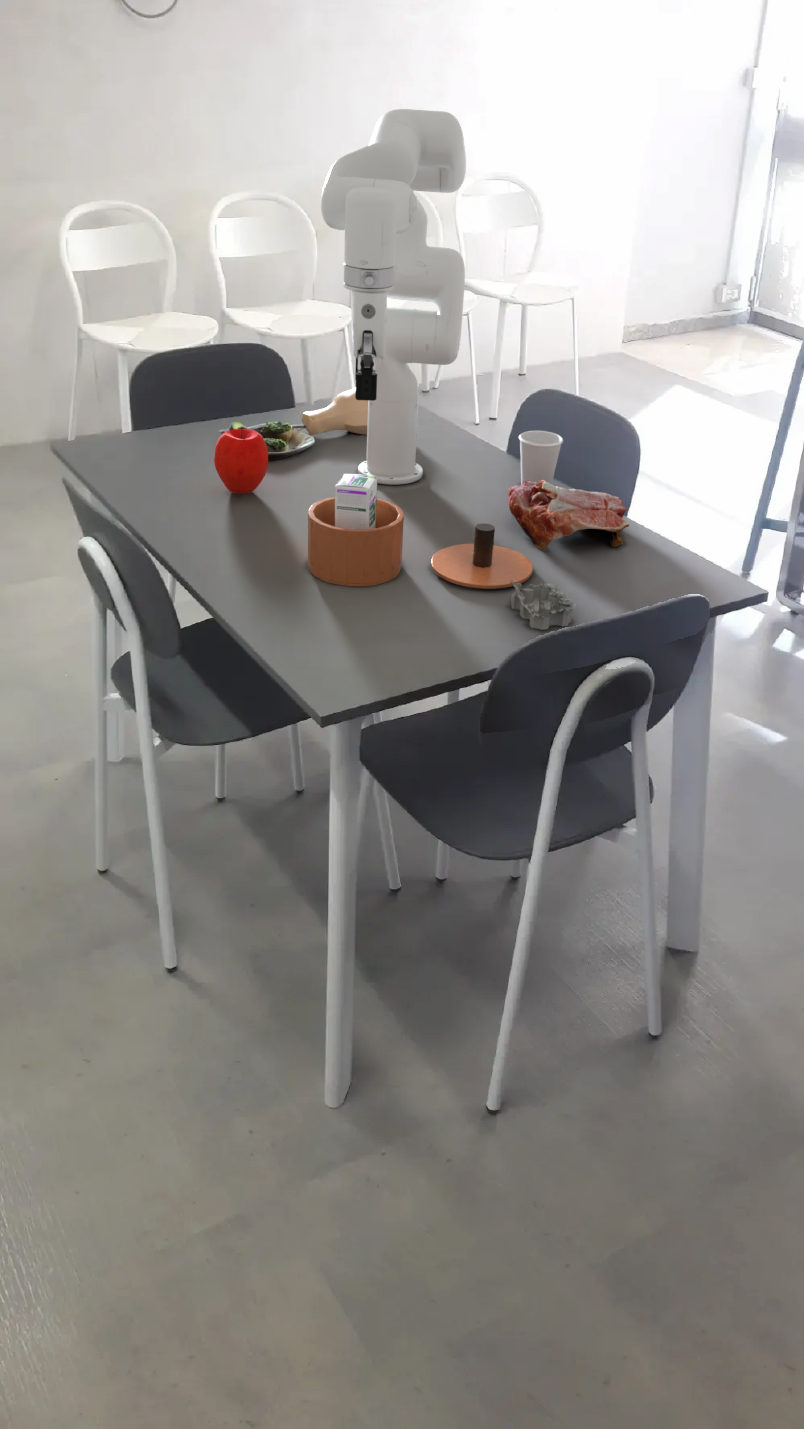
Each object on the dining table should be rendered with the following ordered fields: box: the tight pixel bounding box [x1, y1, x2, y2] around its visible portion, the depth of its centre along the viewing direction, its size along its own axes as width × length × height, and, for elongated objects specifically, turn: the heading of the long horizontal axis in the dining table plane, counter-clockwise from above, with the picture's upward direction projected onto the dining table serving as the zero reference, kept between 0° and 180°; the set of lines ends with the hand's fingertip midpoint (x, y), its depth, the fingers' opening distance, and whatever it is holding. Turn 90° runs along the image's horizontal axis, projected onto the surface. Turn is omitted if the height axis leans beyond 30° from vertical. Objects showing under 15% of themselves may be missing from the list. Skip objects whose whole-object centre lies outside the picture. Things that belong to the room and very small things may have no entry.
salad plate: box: [217, 420, 316, 461], centre depth 257 cm, size 19×18×5 cm
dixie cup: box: [518, 430, 564, 485], centre depth 241 cm, size 8×8×10 cm
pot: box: [307, 496, 405, 587], centre depth 206 cm, size 15×15×10 cm
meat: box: [507, 480, 630, 552], centre depth 223 cm, size 21×21×10 cm
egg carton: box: [510, 581, 577, 631], centre depth 195 cm, size 11×8×4 cm
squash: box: [301, 386, 368, 436], centre depth 265 cm, size 11×20×9 cm, turn 118°
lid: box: [430, 522, 534, 590], centre depth 207 cm, size 17×17×8 cm
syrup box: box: [334, 473, 378, 530], centre depth 204 cm, size 6×6×14 cm
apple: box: [213, 429, 269, 495], centre depth 231 cm, size 10×10×12 cm
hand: (365, 390), depth 197 cm, fingers open, 9 cm apart
